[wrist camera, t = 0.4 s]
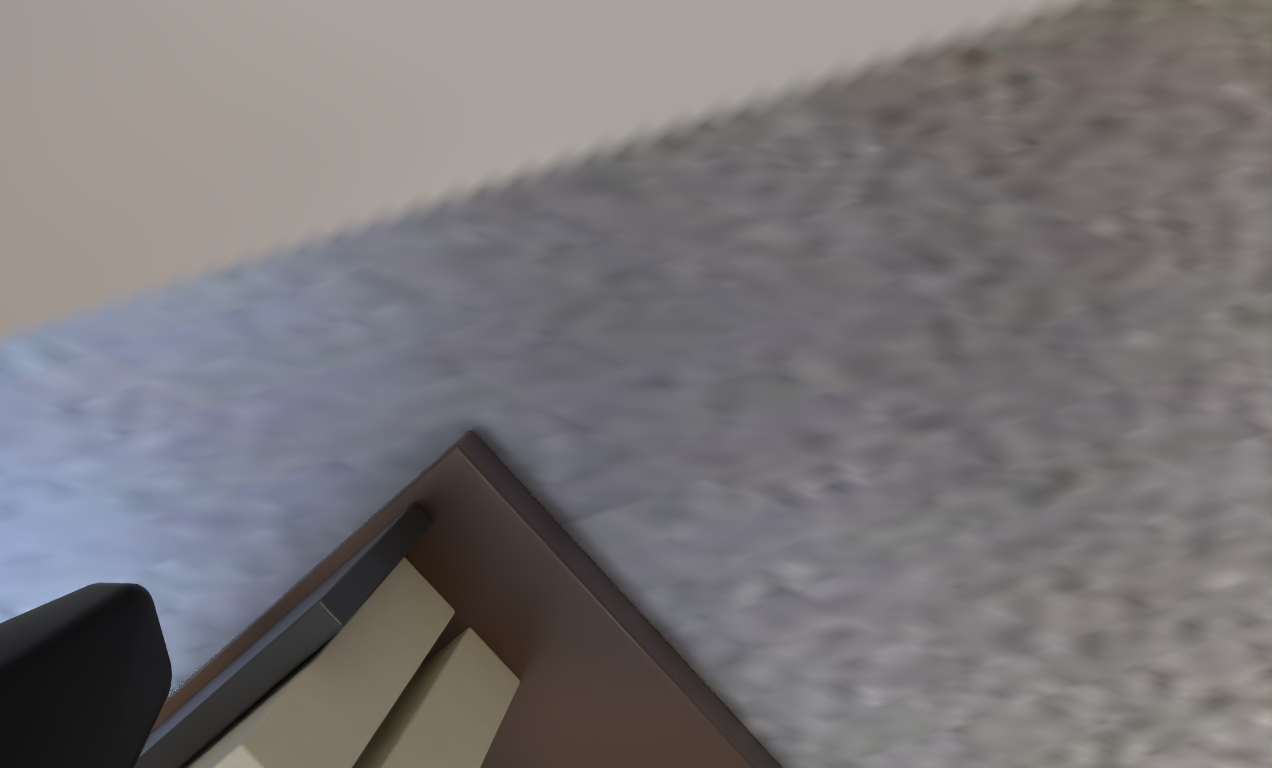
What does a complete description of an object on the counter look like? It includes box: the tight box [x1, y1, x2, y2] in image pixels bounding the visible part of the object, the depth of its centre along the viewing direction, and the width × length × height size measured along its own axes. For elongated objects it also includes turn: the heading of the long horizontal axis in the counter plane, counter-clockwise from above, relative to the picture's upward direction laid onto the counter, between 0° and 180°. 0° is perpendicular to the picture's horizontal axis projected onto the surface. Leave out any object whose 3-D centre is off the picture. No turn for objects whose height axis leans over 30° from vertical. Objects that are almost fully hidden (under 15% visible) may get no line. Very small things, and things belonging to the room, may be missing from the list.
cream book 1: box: [180, 557, 455, 768], centre depth 21 cm, size 6×2×8 cm, turn 132°
